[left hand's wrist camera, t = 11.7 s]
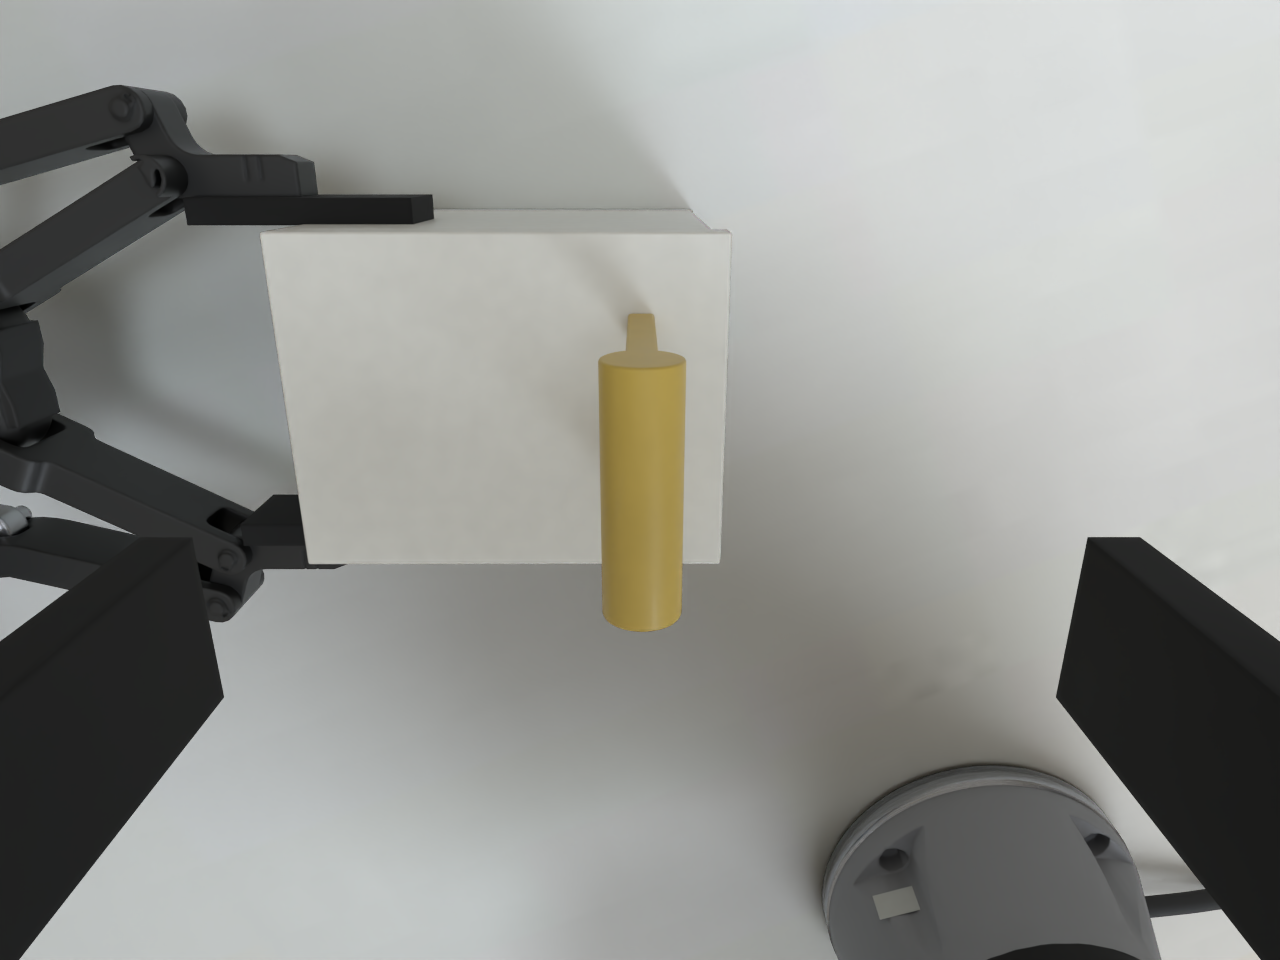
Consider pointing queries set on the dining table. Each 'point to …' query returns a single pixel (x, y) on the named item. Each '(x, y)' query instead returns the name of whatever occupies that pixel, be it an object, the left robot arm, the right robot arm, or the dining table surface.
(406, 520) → the panel with yellow handle
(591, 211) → the chest
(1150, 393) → the dining table surface
